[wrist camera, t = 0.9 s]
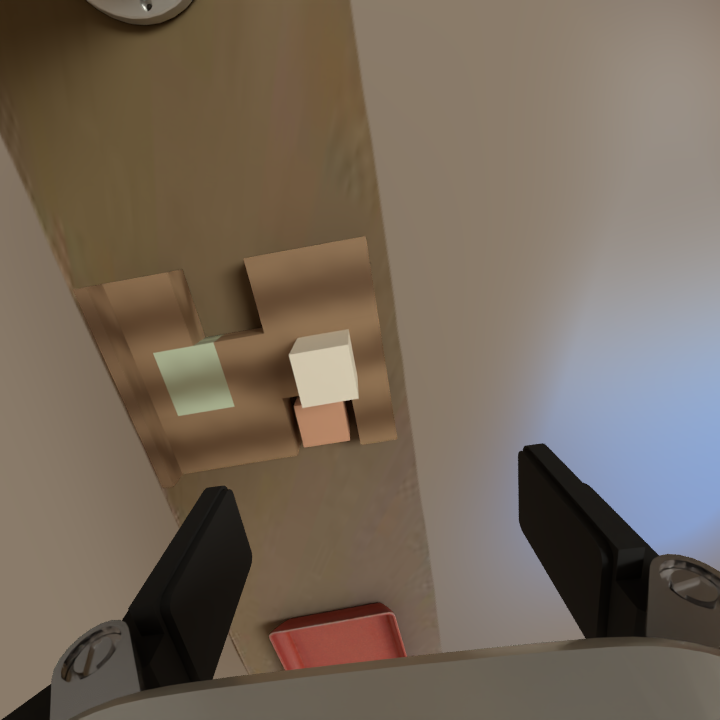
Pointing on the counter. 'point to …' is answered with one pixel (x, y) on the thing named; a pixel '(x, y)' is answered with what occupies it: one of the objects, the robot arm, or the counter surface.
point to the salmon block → (323, 423)
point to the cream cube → (324, 368)
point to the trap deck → (237, 357)
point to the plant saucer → (338, 637)
